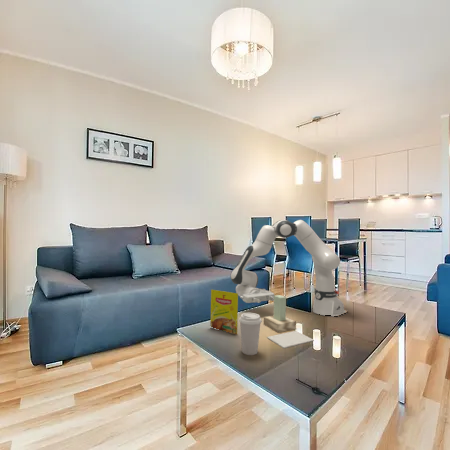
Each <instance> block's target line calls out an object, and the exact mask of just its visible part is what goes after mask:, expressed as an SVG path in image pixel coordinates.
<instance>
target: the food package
mask: <svg viewBox="0 0 450 450" xmlns="http://www.w3.org/2000/svg"><path fill="white" fill-rule="evenodd" d="M238 309H239V295H238V293H236V292H231V291H224V290H217V289H210V325H209V326H211V327H213V328H216V329H219V330H222V331H221V332H224V331H226V332H225V333H228V332H229V334H232V335H233V334H234V335H238V321H239V317H238V316H239V315H238V314H239V313H238V312H239V310H238ZM219 330H218V331H219Z"/></svg>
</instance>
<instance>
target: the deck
mask: <svg viewBox="0 0 450 450" xmlns="http://www.w3.org/2000/svg"><path fill="white" fill-rule="evenodd" d="M263 326H265V327H267V328H269V329H270V330H272V331H274V332H276V333H282V332H286V331H288V332H289V331H292V330H296V329H297V321H296V320H294V319H292V318H290V317H288V316H286V320H283V321H278V320H276V319H274V315H269V316H263Z"/></svg>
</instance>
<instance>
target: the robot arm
mask: <svg viewBox="0 0 450 450" xmlns="http://www.w3.org/2000/svg"><path fill="white" fill-rule="evenodd" d="M293 236H294V237H296V239H297V240H298V241H299V243H300V245H302V247H303V248H304V249H305V251H306V252H308V253H309V254H310V255H311V260H312V263H313V269H314V275H315V289H314V300H313V306H312V308H313V309H312V313H314V314H317V315H319V314H320V316H325V315H331V316H330V317H334V316H338V315H341V314H343V313H345V312H346V311H345V310H346V309H345V305H344V302H343V301H342V300H341V299H339V298H338V297H337V295H339V294H340V291H338V290H335V277H334V274H333V270H336V269H337V268H339V267H340V264H341V259H340V257H339V255H337V253H335V252H334V251H333V250H332V249H331V248H330V247H329V246H328V245H327V244H326V243H325V242H324V241H323V240H322V239H321V238H320V237H319V236H318V235H317V233H316V232H315V230H313V228H312V227H311V226H310V225H309V224H308V223H307V222H306V221H304V220H302V219H297V220H296V221H294V222H291V221H289V220H287V219H281V220H278V221H276V222H275V223H273V224H272V225H268V224H267V225H266V224H264V225H263V226H262V227H261V228H260V229H259V232H258V233H257V235H256V238H255V240H254V242H253V243H252V244H251V245H250V246H248V247H246V249H245V250H244V252H243V254H242V255H241V257H240V259H239V260H238V263H237V264H236V265H235V267H234V268H233V269H232V271H231V273H230V280H231V282H232V283H233V284H234V285H236V286H235V293H238V297H239V298H240V299H241V300H242V301H243V302H244V303H246V304H251V303H253V304H255V303H258V304H259V303H261V302H266V301H271V302H274V296H275V293H274V292H272V291H270V290H266V288H258V287H257V286H258V284H259V276H258V274H257V273H256V272H255V271H250V270H246V267H247V266H248V264H249V262H250V261H251V259H253V258H254V257H259V256H260V257H261V256H265V255H267V254H269V253H270V252H271V249H272V247H273V244H274V243H275V240H276V238H278V237H279V238H283V239H287V238H290V237H293ZM344 309H345V310H344ZM343 315H344V314H343ZM341 316H342V315H341ZM338 317H339V316H338Z"/></svg>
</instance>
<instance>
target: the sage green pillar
mask: <svg viewBox="0 0 450 450" xmlns="http://www.w3.org/2000/svg"><path fill="white" fill-rule="evenodd" d="M286 312H287V297H286V296H283V295H282V294H281V295H280V294H277V295H276V294H275V295H274V301H273V316H274V319H276V320H278V321H283V320H286V317H287V316H286V315H287V313H286Z"/></svg>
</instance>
